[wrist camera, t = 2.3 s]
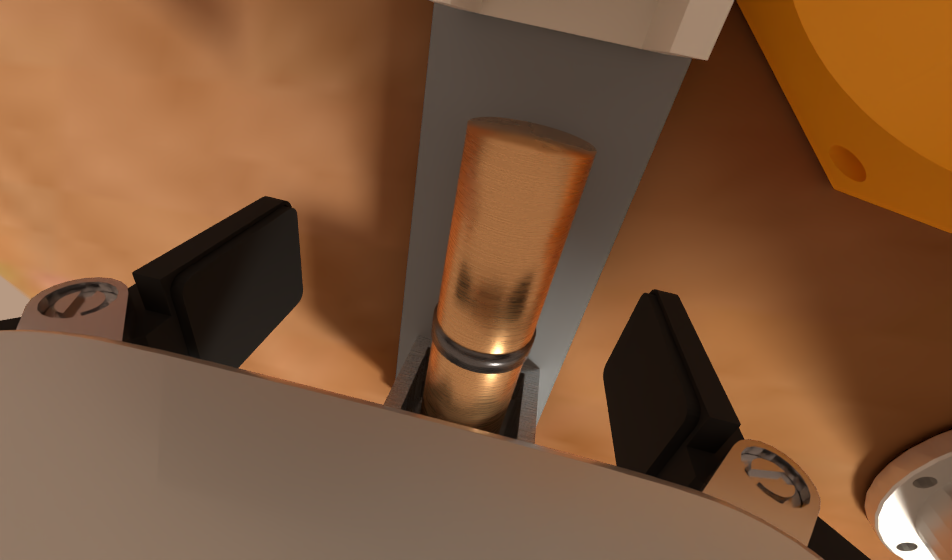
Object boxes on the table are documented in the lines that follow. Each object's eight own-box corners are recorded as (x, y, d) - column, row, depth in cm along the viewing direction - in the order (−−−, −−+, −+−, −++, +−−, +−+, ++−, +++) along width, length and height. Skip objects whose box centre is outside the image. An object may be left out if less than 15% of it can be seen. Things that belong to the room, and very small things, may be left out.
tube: (595, 136, 12) (606, 171, 9) (491, 443, 21) (478, 515, 18) (477, 109, 13) (448, 132, 9) (423, 423, 21) (398, 491, 18)
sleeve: (540, 368, 19) (531, 486, 14) (511, 443, 22) (495, 560, 17) (417, 335, 19) (366, 438, 14) (407, 413, 23) (362, 520, 18)
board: (745, -97, 11) (763, -111, 10) (527, 432, 23) (526, 449, 22) (461, -152, 11) (451, -171, 10) (399, 395, 24) (392, 411, 23)
